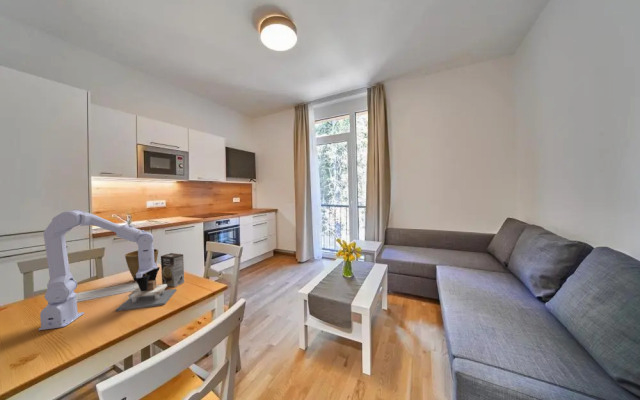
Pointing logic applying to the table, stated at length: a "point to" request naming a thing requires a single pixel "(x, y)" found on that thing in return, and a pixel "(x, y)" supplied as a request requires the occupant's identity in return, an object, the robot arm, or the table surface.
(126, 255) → the plant pot
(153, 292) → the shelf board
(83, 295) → the baseboard molding
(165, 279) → the coffee box
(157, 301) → the peg stand
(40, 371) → the table surface
